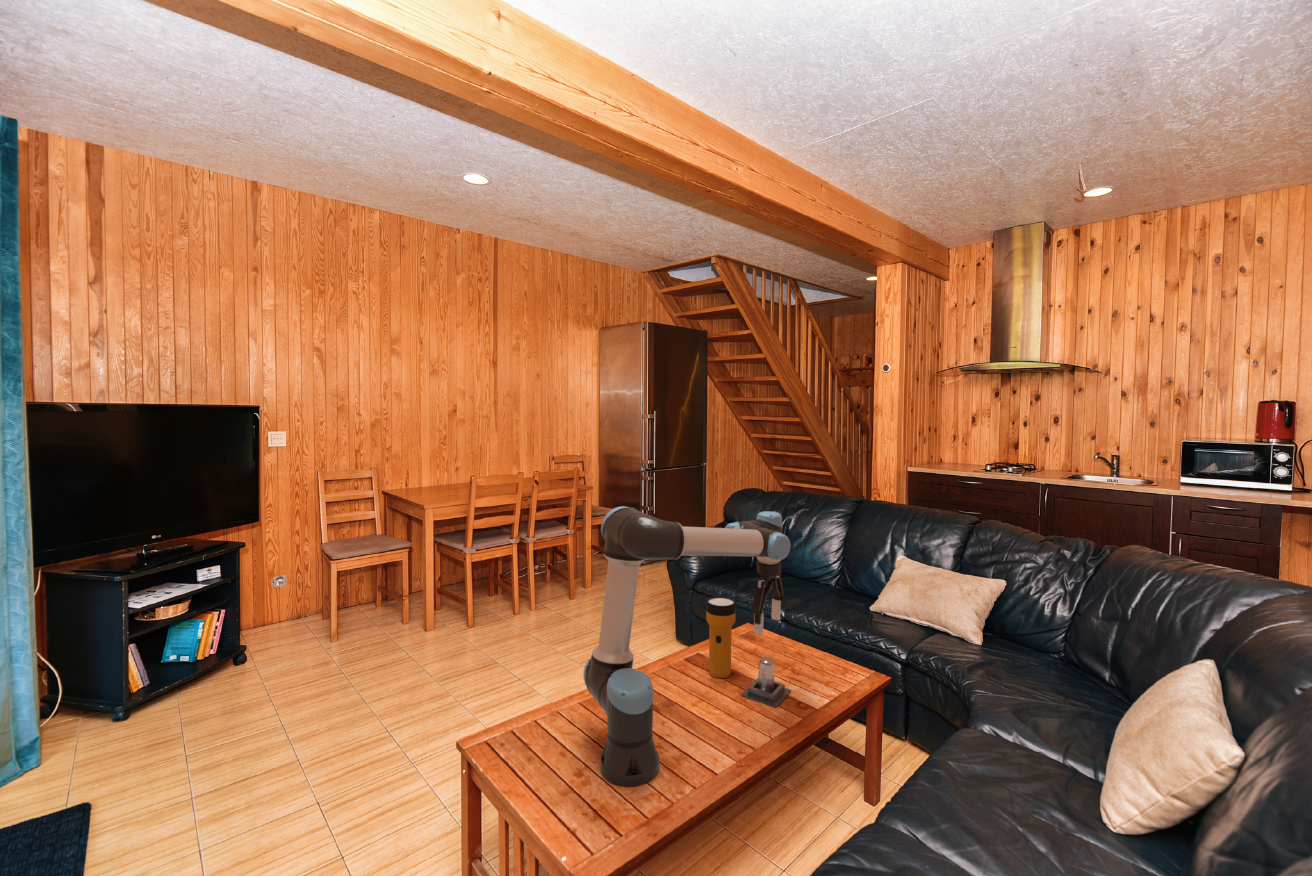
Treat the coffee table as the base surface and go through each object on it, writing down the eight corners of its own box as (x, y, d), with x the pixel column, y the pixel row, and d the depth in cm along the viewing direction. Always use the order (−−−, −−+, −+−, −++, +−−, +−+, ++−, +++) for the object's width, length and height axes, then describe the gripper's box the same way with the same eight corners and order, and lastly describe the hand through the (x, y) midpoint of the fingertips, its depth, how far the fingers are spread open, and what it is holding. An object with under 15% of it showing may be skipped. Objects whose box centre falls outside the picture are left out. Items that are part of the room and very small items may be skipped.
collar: (776, 708, 173) (776, 699, 173) (741, 696, 180) (741, 688, 179) (791, 691, 183) (791, 683, 182) (756, 680, 189) (757, 673, 189)
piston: (770, 698, 177) (771, 665, 177) (755, 693, 180) (756, 661, 179) (776, 691, 182) (777, 659, 181) (761, 686, 184) (762, 655, 183)
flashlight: (737, 596, 196) (733, 606, 187) (737, 668, 198) (732, 681, 189) (709, 593, 199) (703, 603, 190) (709, 664, 201) (703, 677, 192)
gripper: (763, 572, 166) (762, 642, 167) (794, 554, 186) (793, 616, 188) (740, 568, 170) (739, 636, 171) (773, 550, 190) (772, 611, 192)
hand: (767, 626), depth 180 cm, fingers open, 13 cm apart
